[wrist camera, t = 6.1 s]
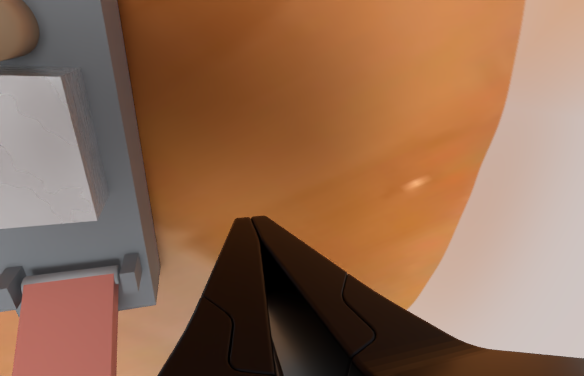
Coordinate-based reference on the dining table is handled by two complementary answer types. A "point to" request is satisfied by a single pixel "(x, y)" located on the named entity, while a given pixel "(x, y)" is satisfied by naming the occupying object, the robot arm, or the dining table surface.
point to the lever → (68, 324)
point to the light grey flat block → (47, 149)
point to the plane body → (112, 145)
